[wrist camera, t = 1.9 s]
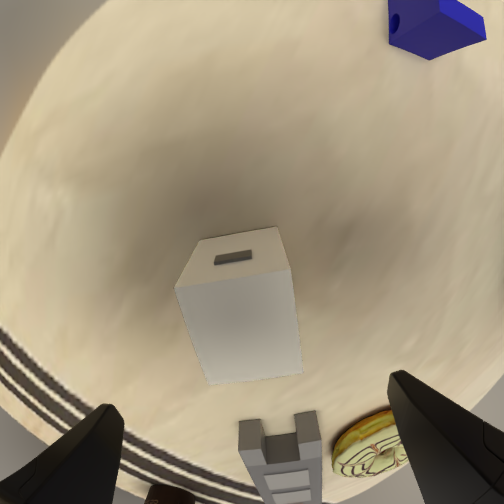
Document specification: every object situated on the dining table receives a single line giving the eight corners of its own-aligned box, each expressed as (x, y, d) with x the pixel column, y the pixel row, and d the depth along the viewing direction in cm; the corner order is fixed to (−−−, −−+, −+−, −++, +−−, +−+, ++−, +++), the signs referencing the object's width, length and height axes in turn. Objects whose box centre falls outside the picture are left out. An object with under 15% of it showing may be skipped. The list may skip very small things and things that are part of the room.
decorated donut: (352, 466, 26) (358, 490, 23) (309, 438, 23) (314, 469, 20) (429, 424, 24) (440, 447, 20) (406, 385, 21) (421, 415, 18)
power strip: (315, 410, 21) (323, 447, 18) (318, 490, 28) (322, 513, 24) (239, 421, 22) (237, 458, 18) (270, 496, 28) (271, 520, 25)
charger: (276, 223, 16) (289, 265, 10) (295, 347, 19) (307, 414, 13) (198, 237, 16) (172, 284, 11) (231, 357, 19) (225, 425, 14)
